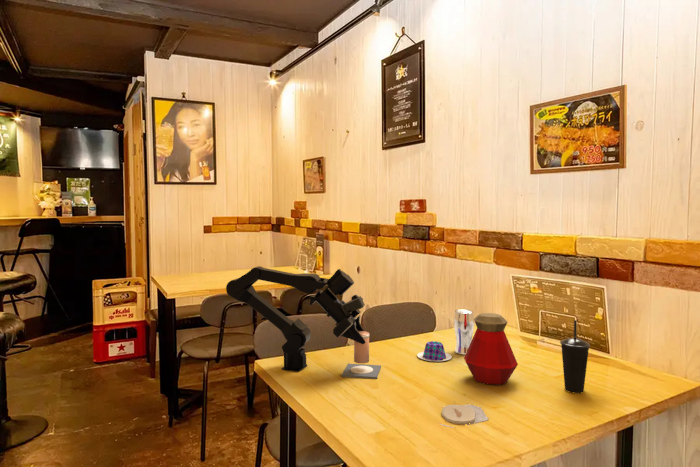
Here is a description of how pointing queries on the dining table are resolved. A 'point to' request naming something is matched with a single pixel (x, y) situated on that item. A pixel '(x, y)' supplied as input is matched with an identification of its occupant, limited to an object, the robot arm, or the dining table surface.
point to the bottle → (490, 351)
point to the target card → (361, 371)
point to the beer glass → (463, 330)
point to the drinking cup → (574, 362)
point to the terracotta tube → (362, 349)
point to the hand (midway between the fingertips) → (365, 340)
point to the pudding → (434, 352)
